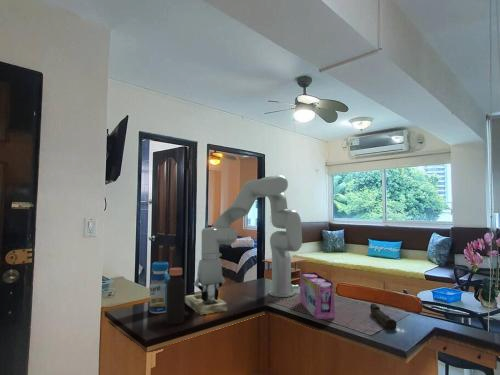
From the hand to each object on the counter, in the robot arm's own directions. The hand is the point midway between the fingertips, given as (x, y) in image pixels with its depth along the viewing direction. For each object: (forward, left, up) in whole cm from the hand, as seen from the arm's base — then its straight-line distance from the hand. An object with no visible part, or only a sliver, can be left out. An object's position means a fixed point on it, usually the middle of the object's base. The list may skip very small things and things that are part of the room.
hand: (209, 299), depth 136 cm
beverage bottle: (+19, -9, -4) cm, 22 cm away
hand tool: (-51, +45, -5) cm, 68 cm away
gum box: (-39, +23, -5) cm, 46 cm away
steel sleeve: (0, 0, -2) cm, 2 cm away
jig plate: (0, -5, -4) cm, 7 cm away
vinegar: (+17, +7, -5) cm, 19 cm away
